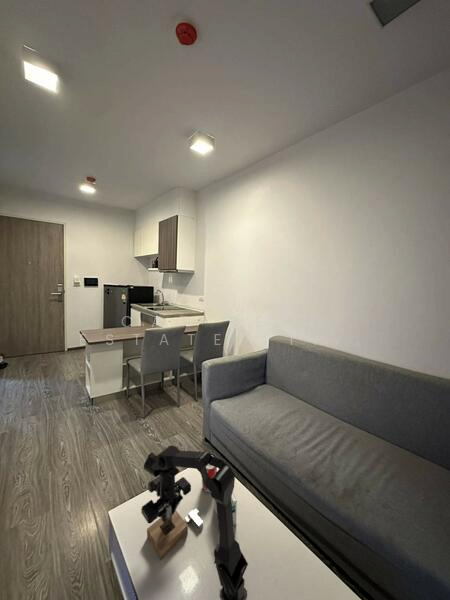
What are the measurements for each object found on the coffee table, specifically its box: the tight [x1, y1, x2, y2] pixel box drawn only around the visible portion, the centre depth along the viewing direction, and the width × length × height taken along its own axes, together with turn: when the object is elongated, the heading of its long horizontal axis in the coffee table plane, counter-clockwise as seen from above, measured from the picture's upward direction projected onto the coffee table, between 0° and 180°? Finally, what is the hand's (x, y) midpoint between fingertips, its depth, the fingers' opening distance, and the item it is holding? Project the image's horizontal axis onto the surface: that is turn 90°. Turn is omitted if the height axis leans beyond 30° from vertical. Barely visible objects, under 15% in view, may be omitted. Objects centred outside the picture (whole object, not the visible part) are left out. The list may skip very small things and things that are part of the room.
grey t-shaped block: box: [184, 508, 204, 532], centre depth 96 cm, size 7×6×2 cm
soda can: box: [201, 464, 218, 493], centre depth 112 cm, size 7×7×12 cm
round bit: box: [163, 501, 172, 526], centre depth 90 cm, size 3×3×7 cm
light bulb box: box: [213, 493, 238, 525], centre depth 99 cm, size 11×7×11 cm, turn 22°
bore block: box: [146, 509, 189, 561], centre depth 91 cm, size 10×12×4 cm
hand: (167, 517), depth 90 cm, fingers closed on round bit, 3 cm apart
